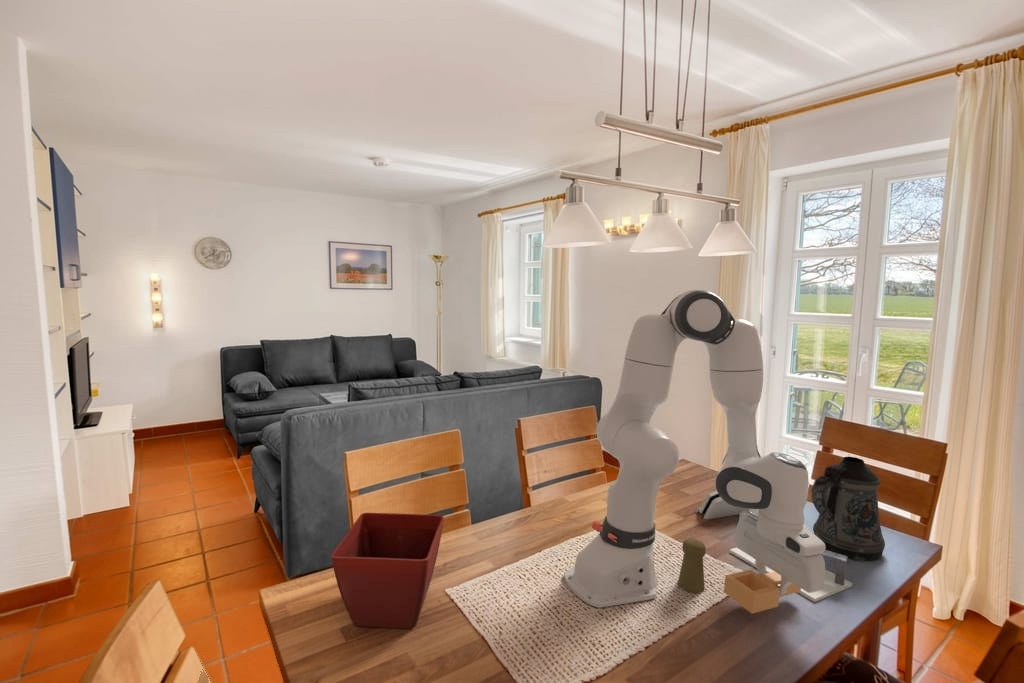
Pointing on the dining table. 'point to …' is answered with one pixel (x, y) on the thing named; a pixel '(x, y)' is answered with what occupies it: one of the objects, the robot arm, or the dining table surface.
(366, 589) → the plant pot
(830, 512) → the beer stein
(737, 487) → the robot arm
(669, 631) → the dining table surface
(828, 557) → the bracket
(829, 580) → the board
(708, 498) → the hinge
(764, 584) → the link
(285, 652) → the dining table surface
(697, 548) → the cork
